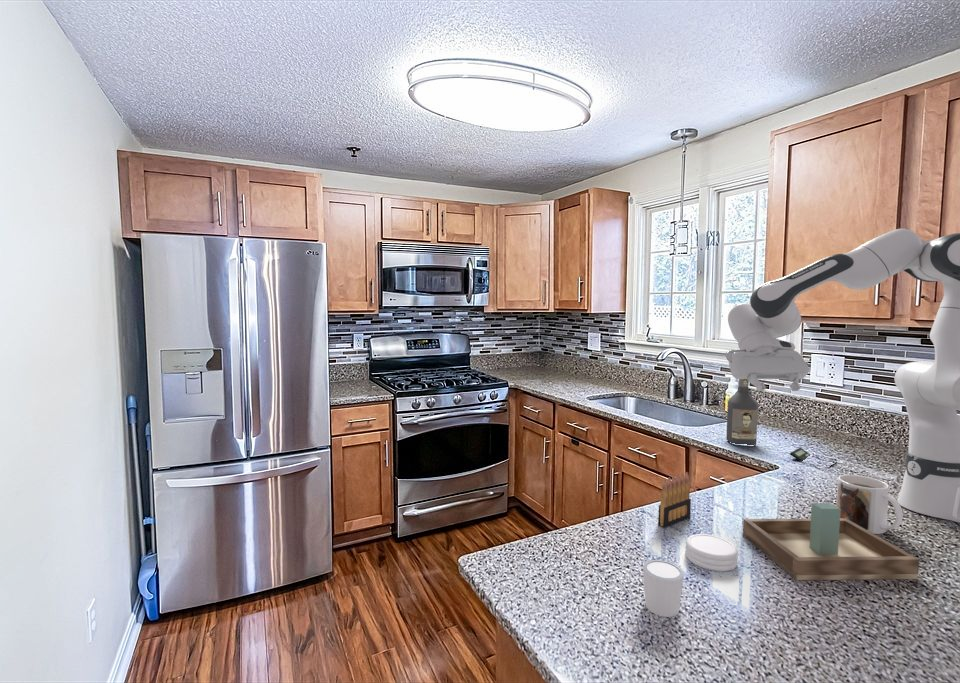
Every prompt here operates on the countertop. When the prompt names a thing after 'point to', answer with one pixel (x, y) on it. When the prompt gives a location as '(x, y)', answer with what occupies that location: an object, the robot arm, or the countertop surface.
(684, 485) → the ammunition clip
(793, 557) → the wooden serving tray
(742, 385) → the liquor
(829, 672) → the countertop surface
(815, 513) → the grey-green rectangular block
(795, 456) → the calculator
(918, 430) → the robot arm
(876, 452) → the countertop surface
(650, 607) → the white cylinder
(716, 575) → the countertop surface
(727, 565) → the white round disc stack
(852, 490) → the mug
